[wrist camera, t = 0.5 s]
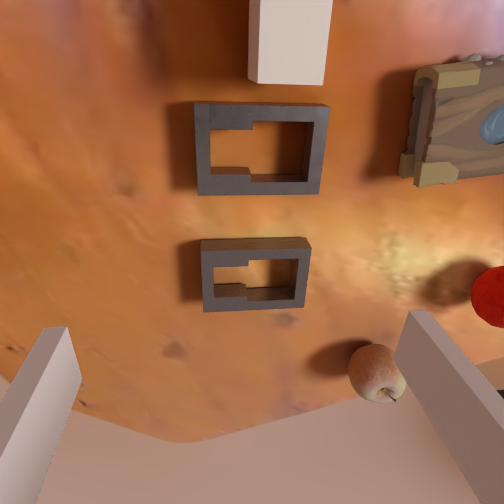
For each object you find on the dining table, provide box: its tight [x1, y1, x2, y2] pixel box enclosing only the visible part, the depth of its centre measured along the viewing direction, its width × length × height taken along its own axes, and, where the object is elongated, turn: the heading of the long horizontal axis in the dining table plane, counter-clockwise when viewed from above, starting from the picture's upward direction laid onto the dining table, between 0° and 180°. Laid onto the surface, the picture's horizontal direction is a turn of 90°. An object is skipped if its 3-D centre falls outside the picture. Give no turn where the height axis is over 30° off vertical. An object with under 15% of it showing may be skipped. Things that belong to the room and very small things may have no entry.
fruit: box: [348, 344, 406, 403], centre depth 46 cm, size 8×7×8 cm
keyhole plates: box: [194, 101, 330, 312], centre depth 36 cm, size 22×12×2 cm, turn 178°
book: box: [398, 54, 504, 187], centre depth 33 cm, size 15×11×5 cm
